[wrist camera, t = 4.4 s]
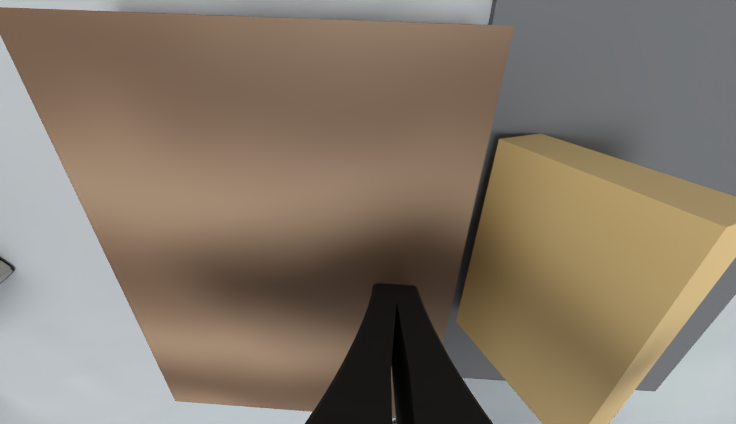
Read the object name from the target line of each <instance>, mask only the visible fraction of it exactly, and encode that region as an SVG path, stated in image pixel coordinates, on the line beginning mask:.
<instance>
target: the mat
mask: <svg viewBox="0 0 736 424" xmlns="http://www.w3.org/2000/svg"><path fill="white" fill-rule="evenodd" d="M489 25H499V26H515V27H514V31H513V36H512V40H511V44H510V49H509V53H508V58H507V62H506V66H505V71H504V75H503V80H502V84H501V88H500V93H499V97H498V102H497V106H496V111H495V115H494V119H493V124H492V128H491V133H490V137H489V141H488V146H487V150H486V155H485V159H484V163H483V168H482V172H481V177H480V181H479V185H478V190H477V194H476V199H475V203H474V207H473V212H472V216H471V221H470V225H469V229H468V234H467V238H466V243H465V247H464V251H463V256H462V260H461V265H460V269H459V273H458V278H457V282H456V287H455V291H454V295H453V300H452V304H451V309H450V313H449V318H448V322H447V326H446V331H445V335H444V340H443V344H442V345H443V346H444V348H445V350H446V352H447V354H448V355H449V357H450V359H451V361H452V362H453V364H454V366H455V367H456V369H457V371H458V373H459V374H460V376H461V377H462V378H476V379H490V380H504V381H506V380H505V379H504V377H503V376H502V375H501V374H500V373H499V372H498V370H497V369H496V368H495V367H494V366H493V365H492V363H491V362H490V361H489V360H488V359H487V358H486V356H485V355H484V354H483V353H482V352H481V350H480V349H479V348H478V347H477V346H476V345H475V343H474V342H473V341H472V340H471V339H470V338H469V336H468V335H467V334H466V333H465V332H464V330H463V329H462V328H461V327H460V326H459V325H458V323H457V322H456V319H457V315H458V311H459V306H460V302H461V298H462V294H463V290H464V285H465V281H466V277H467V273H468V268H469V264H470V260H471V256H472V251H473V247H474V243H475V239H476V234H477V230H478V226H479V222H480V218H481V213H482V209H483V205H484V201H485V196H486V192H487V188H488V184H489V179H490V175H491V171H492V167H493V163H494V158H495V154H496V150H497V146H498V141H499V139H502V138H510V137H517V136H525V135H532V134H540V133H541V134H544V135H547V136H550V137H554V138H557V139H560V140H563V141H566V142H569V143H572V144H575V145H578V146H581V147H584V148H587V149H590V150H594V151H597V152H600V153H603V154H606V155H609V156H612V157H615V158H618V159H621V160H624V161H627V162H630V163H634V164H637V165H640V166H643V167H646V168H649V169H652V170H655V171H658V172H661V173H664V174H667V175H670V176H674V177H677V178H680V179H683V180H686V181H689V182H692V183H695V184H698V185H701V186H704V187H707V188H710V189H714V190H717V191H720V192H723V193H726V194H729V195H732V196H735V197H736V0H493V5H492V10H491V15H490V20H489ZM735 294H736V258H735V259H734V260H733V261H732V263H731V264H730V265H729V267H728V268H727V269H726V271H725V272H724V273H723V275H722V276H721V277H720V279H719V280H718V281H717V282H716V284H715V285H714V286H713V288H712V289H711V290H710V292H709V293H708V294H707V296H706V297H705V298H704V300H703V301H702V302H701V304H700V305H699V306H698V307H697V309H696V310H695V311H694V313H693V314H692V315H691V317H690V318H689V319H688V321H687V322H686V323H685V325H684V326H683V327H682V329H681V330H680V331H679V332H678V334H677V335H676V336H675V338H674V339H673V340H672V342H671V343H670V344H669V346H668V347H667V348H666V350H665V351H664V352H663V353H662V355H661V356H660V357H659V359H658V360H657V361H656V363H655V364H654V365H653V367H652V368H651V369H650V371H649V372H648V373H647V375H646V376H645V377H644V378H643V380H642V381H641V382H640V384H639V385H638V386H637V388H636V389H635V390H643V391H656V390H657V388H658V387H659V386H660V385H661V384H662V382H663V381H664V380H665V379H666V377H667V376H668V375H669V374H670V373H671V371H672V370H673V369H674V368H675V367H676V365H677V364H678V363H679V362H680V361H681V359H682V358H683V357H684V356H685V355H686V353H687V352H688V351H689V350H690V349H691V347H692V346H693V345H694V344H695V343H696V341H697V340H698V339H699V338H700V337H701V335H702V334H703V333H704V332H705V331H706V329H707V328H708V327H709V326H710V324H711V323H712V322H713V321H714V320H715V318H716V317H717V316H718V315H719V314H720V312H721V311H722V310H723V309H724V308H725V306H726V305H727V304H728V303H729V302H730V300H731V299H732V298H733V297H734V296H735Z"/></svg>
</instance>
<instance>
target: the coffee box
mask: <svg viewBox="0 0 736 424" xmlns="http://www.w3.org/2000/svg"><path fill="white" fill-rule="evenodd" d="M11 273H12V269H11V268H10V266H8V265H7V264H6V263H4V262H3V261H1V260H0V283H1V282H2V281H3V280H4V279H5V278H7V277H8V276H9V275H10V274H11Z"/></svg>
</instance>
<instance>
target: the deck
mask: <svg viewBox="0 0 736 424" xmlns="http://www.w3.org/2000/svg"><path fill="white" fill-rule="evenodd" d="M514 27H515V26H499V25H471V24H444V23H416V22H388V21H361V20H333V19H306V18H278V17H250V16H223V15H195V14H167V13H140V12H112V11H85V10H57V9H29V8H2V7H0V35H1V37H2V39H3V41H4V43H5V46H6V48H7V50H8V52H9V54H10V56H11V58H12V60H13V62H14V64H15V66H16V69H17V71H18V73H19V75H20V77H21V79H22V81H23V83H24V85H25V87H26V89H27V92H28V94H29V96H30V98H31V100H32V102H33V104H34V106H35V108H36V110H37V112H38V115H39V117H40V119H41V121H42V123H43V125H44V127H45V129H46V131H47V133H48V135H49V138H50V140H51V142H52V144H53V146H54V148H55V150H56V152H57V154H58V156H59V159H60V161H61V163H62V165H63V167H64V169H65V171H66V173H67V175H68V177H69V179H70V182H71V184H72V186H73V188H74V190H75V192H76V194H77V196H78V198H79V200H80V202H81V205H82V207H83V209H84V211H85V213H86V215H87V217H88V219H89V221H90V223H91V225H92V228H93V230H94V232H95V234H96V236H97V238H98V240H99V242H100V244H101V246H102V248H103V251H104V253H105V255H106V257H107V259H108V261H109V263H110V265H111V267H112V269H113V271H114V274H115V276H116V278H117V280H118V282H119V284H120V286H121V288H122V290H123V292H124V294H125V297H126V299H127V301H128V303H129V305H130V307H131V309H132V311H133V313H134V315H135V317H136V320H137V322H138V324H139V326H140V328H141V330H142V332H143V334H144V336H145V338H146V340H147V343H148V345H149V347H150V349H151V351H152V353H153V355H154V357H155V359H156V361H157V364H158V366H159V368H160V370H161V372H162V374H163V376H164V378H165V380H166V382H167V384H168V387H169V389H170V391H171V393H172V395H173V397H174V399H175V401H181V402H195V403H208V404H221V405H234V406H247V407H260V408H273V409H286V410H299V411H312V412H313V411H314V409H315V408H316V406H317V405H318V403H319V402H320V400H321V399H322V397H323V395H324V394H325V392H326V391H327V389H328V387H329V386H330V384H331V382H332V381H333V379H334V377H335V375H336V374H337V372H338V370H339V368H340V367H341V365H342V363H343V361H344V359H345V357H346V355H347V353H348V351H349V349H350V347H351V345H352V343H353V341H354V339H355V337H356V335H357V332H358V330H359V328H360V325H361V323H362V321H363V318H364V316H365V313H366V310H367V308H368V305H369V301H370V298H371V294H372V288H373V285H374V284H376V283H383V284H400V285H415V286H416V287H417V288H418V292H419V295H420V297H421V300H422V303H423V305H424V307H425V310H426V312H427V314H428V316H429V319H430V321H431V323H432V325H433V327H434V329H435V331H436V333H437V335H438V337H439V339H440V341H441V343H442V344H443V340H444V335H445V331H446V326H447V322H448V318H449V313H450V309H451V304H452V300H453V295H454V291H455V287H456V282H457V278H458V273H459V269H460V265H461V260H462V256H463V251H464V247H465V243H466V238H467V234H468V229H469V225H470V221H471V216H472V212H473V207H474V203H475V199H476V194H477V190H478V185H479V181H480V177H481V172H482V168H483V163H484V159H485V155H486V150H487V146H488V141H489V137H490V133H491V128H492V124H493V119H494V115H495V111H496V106H497V102H498V97H499V93H500V88H501V84H502V80H503V75H504V71H505V66H506V62H507V58H508V53H509V49H510V44H511V40H512V36H513V31H514ZM391 391H392V418H396V413H395V402H394V390H393V378H392V367H391Z"/></svg>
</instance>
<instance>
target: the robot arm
mask: <svg viewBox="0 0 736 424" xmlns="http://www.w3.org/2000/svg"><path fill="white" fill-rule="evenodd" d="M391 367H392V378H393V390H394V402H395V413H396V424H493V423H492V422H491V420H490V419H489V417H488V416H487V415H486V413H485V412H484V411H483V409H482V408H481V406H480V405H479V403H478V402H477V400H476V399H475V397H474V396H473V394H472V393H471V392H470V390H469V388H468V387H467V385H466V384H465V382H464V381H463V379H462V377H461V376H460V374H459V373H458V371H457V369H456V367H455V366H454V364H453V362H452V361H451V359H450V357H449V355H448V354H447V352H446V350H445V348H444V346H443V345H442V343H441V341H440V339H439V337H438V335H437V333H436V331H435V329H434V327H433V325H432V323H431V321H430V319H429V316H428V314H427V312H426V310H425V307H424V305H423V303H422V300H421V297H420V295H419V292H418V288H417V287H416V286H415V285H400V284H383V283H376V284H374V285H373V288H372V294H371V298H370V301H369V305H368V308H367V310H366V313H365V316H364V318H363V321H362V323H361V325H360V328H359V330H358V332H357V335H356V337H355V339H354V341H353V343H352V345H351V347H350V349H349V351H348V353H347V355H346V357H345V359H344V361H343V363H342V365H341V367H340V368H339V370H338V372H337V374H336V375H335V377H334V379H333V381H332V382H331V384H330V386H329V387H328V389H327V391H326V392H325V394H324V395H323V397H322V399H321V400H320V402H319V403H318V405H317V406H316V408H315V409H314V411H313V412H312V414H311V415H310V417H309V418H308V420H307V421H306V423H305V424H392V391H391Z"/></svg>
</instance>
